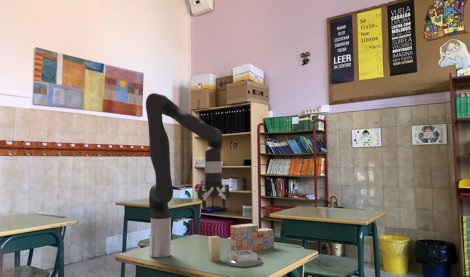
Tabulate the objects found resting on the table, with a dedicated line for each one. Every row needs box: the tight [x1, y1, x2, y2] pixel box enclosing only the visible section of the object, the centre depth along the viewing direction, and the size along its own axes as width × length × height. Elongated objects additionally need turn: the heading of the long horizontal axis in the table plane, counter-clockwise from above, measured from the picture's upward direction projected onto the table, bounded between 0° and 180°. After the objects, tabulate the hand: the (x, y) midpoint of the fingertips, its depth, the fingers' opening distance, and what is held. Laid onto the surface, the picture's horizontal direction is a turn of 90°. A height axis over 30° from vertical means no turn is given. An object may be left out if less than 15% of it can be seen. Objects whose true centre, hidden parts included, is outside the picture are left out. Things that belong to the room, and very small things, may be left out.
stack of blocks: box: [229, 223, 275, 252], centre depth 183 cm, size 21×6×12 cm, turn 118°
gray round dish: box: [223, 250, 263, 268], centre depth 158 cm, size 16×16×4 cm
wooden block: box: [207, 235, 221, 262], centre depth 162 cm, size 4×4×10 cm
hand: (213, 208), depth 164 cm, fingers open, 8 cm apart
